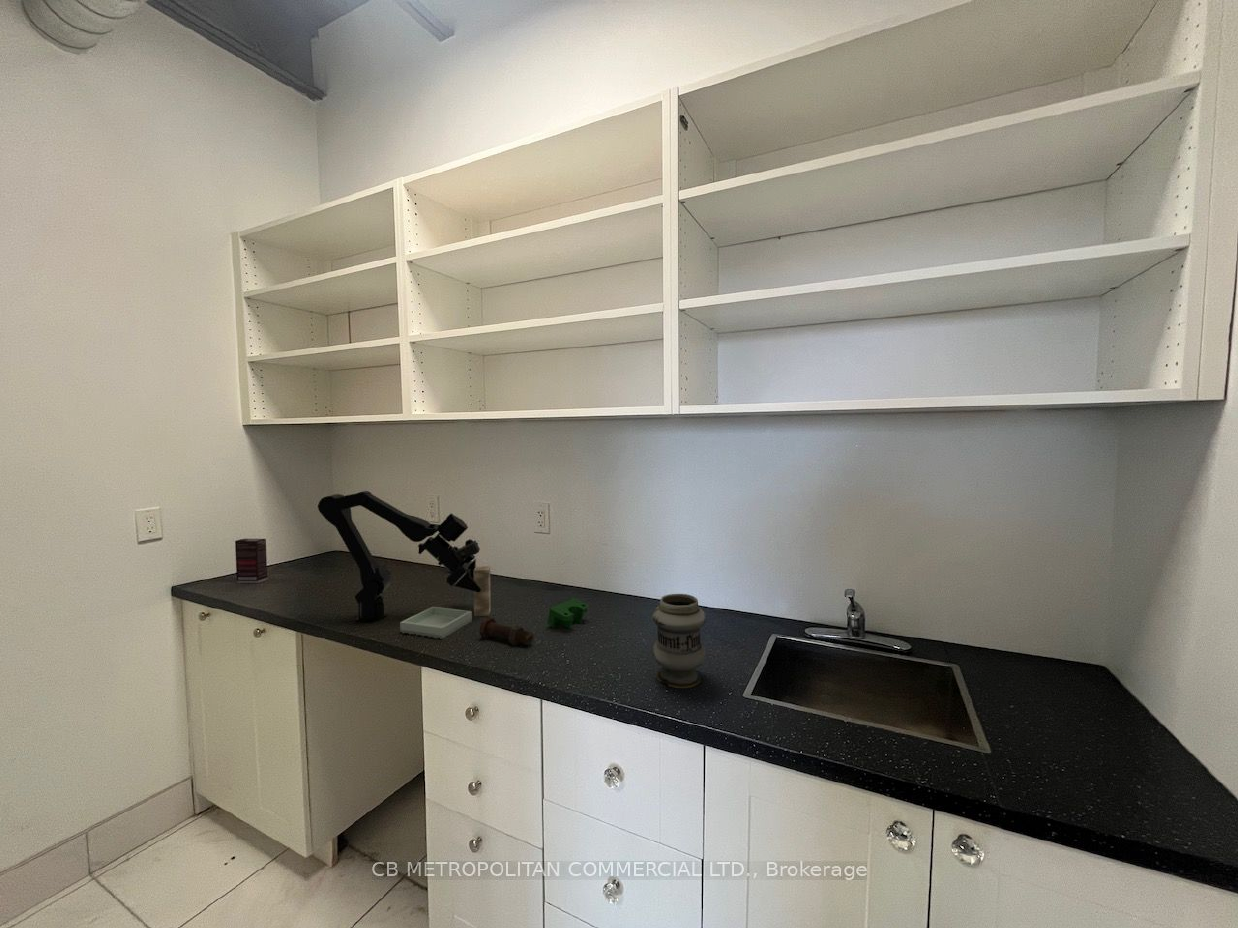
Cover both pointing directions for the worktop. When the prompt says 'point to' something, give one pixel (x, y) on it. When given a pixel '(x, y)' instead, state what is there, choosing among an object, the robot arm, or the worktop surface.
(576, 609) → the clamp
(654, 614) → the apothecary jar
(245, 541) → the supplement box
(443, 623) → the tray
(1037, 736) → the worktop surface
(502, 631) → the bolt
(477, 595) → the maple block
